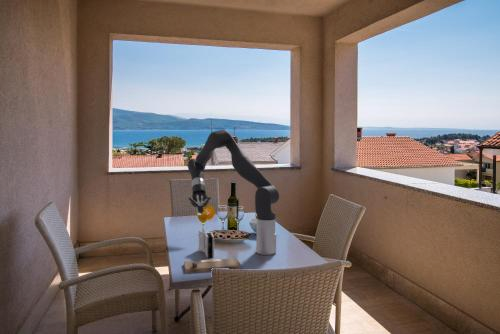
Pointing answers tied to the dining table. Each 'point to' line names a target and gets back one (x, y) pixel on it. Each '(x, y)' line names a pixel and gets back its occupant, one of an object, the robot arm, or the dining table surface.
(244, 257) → the dining table surface
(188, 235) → the dining table surface
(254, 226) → the chinaware
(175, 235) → the dining table surface
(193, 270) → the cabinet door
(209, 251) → the hinge
